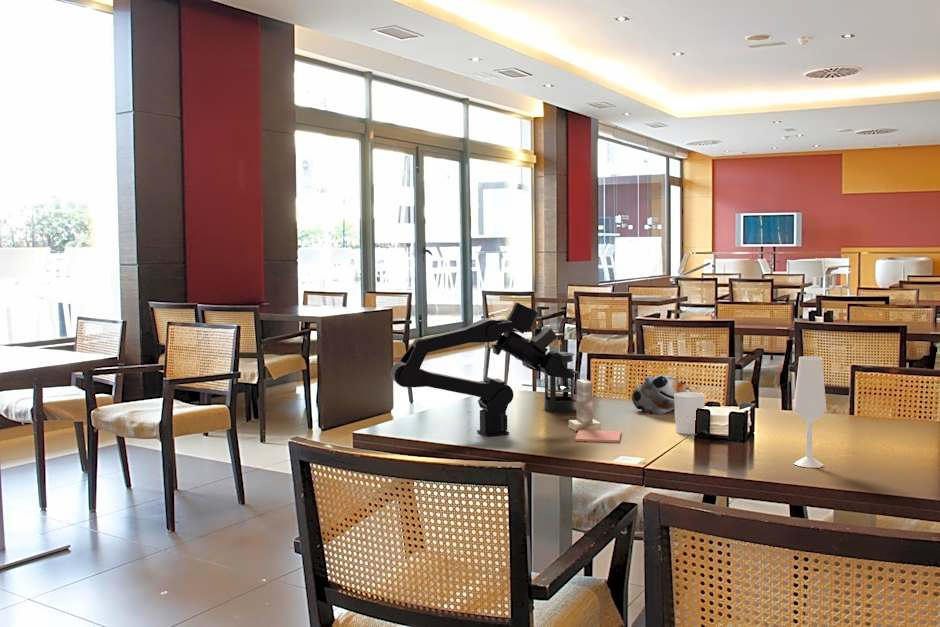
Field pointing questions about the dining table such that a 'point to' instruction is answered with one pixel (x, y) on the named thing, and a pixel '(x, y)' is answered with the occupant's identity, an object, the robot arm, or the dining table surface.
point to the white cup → (687, 410)
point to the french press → (560, 388)
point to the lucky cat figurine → (657, 394)
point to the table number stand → (584, 408)
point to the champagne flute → (809, 400)
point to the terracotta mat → (598, 436)
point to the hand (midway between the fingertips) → (567, 374)
